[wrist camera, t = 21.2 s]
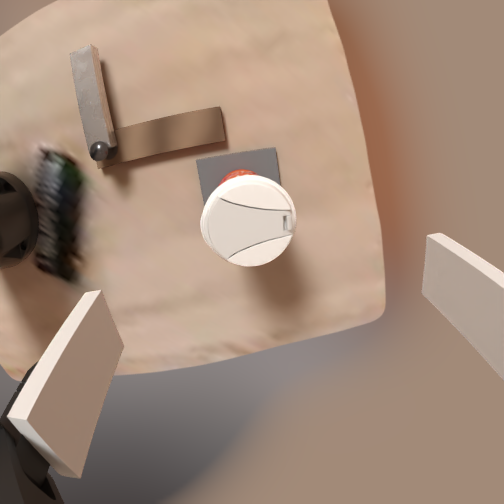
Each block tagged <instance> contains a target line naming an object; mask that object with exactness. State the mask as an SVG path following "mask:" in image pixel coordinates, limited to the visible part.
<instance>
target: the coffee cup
mask: <svg viewBox="0 0 504 504" xmlns="http://www.w3.org/2000/svg"><path fill="white" fill-rule="evenodd" d="M200 225H201V231H202V235H203V238H204V240H205V242H206V243H207V244H208V245H209V246H210V247H211V248H212V250H213V251H214V252H215V253H216V254H217V255H219V256H220V257H221V258H223V259H224V260H226V261H228V262H231V263H233V264H236V265H240V266H247V267H248V266H259V265H263V264H266V263H268V262H270V261H272V260H274V259H275V258H276V257H278V256H279V255H280V254H281V253H282V252H283V251H284V250H285V249H286V247H287V246H288V245H289V243H290V241H291V240H292V238H293V235H294V232H295V228H296V211H295V207H294V204H293V202H292V200H291V198H290V196H289V195H288V193H287V192H286V191H285V190H284V189H283V188H282V187H281V186H280V185H279V184H277V183H276V182H274V181H272V180H270V179H268V178H265V177H262V176H259V175H258V174H256V173H254V172H252V171H250V170H245V169H239V170H234V171H232V172H230V173H228V174H227V175H226V176H225V177H224V178H223V179H222V181H221V182H220V184H219V186H218V187H217V188H216V189H215V190H214V192H213V193H212V194H211V195H210V197H209V198H208V200H207V202H206V204H205V207H204V210H203V214H202V217H201V219H200Z"/></svg>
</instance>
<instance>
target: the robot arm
mask: <svg viewBox="0 0 504 504" xmlns="http://www.w3.org/2000/svg"><path fill="white" fill-rule="evenodd" d="M37 236H38V215H37V210H36V206H35V203H34V200H33V198H32V196H31V194H30V192H29V190H28V189H27V187H26V186H25V185H24V183H23V182H22V181H21V180H20V179H19V178H17V177H16V176H14V175H13V174H10V173H7V172H0V269H2V268H7V267H12V266H15V265H17V264H19V263H20V262H21V261H22V260H24V259H25V258H26V257H27V256H28V255H29V254H30V253H31V252H32V250H33V248H34V246H35V244H36V241H37ZM422 294H423V295H424V296H425V297H426V298H427V299H428V300H429V301H430V302H431V303H432V304H433V305H434V306H435V307H436V308H437V309H438V310H439V311H440V312H441V313H442V314H443V315H444V316H445V317H446V318H447V319H448V320H449V321H450V322H451V323H452V324H453V325H454V326H455V328H456V329H457V330H458V331H459V332H460V333H461V334H462V335H463V336H464V337H465V338H466V339H467V340H468V341H469V342H470V343H471V345H472V346H473V347H474V348H475V349H476V350H477V351H478V352H479V353H480V354H481V355H482V357H483V358H484V359H485V360H486V361H487V362H488V363H489V364H490V365H491V367H492V368H493V369H494V370H495V371H496V372H497V374H498V375H499V376H500V377H501V378H502V379H503V380H504V273H503V272H502V271H500V270H499V269H497V268H496V267H494V266H493V265H491V264H490V263H488V262H487V261H485V260H484V259H482V258H480V257H479V256H478V255H476V254H474V253H473V252H471V251H470V250H468V249H467V248H465V247H463V246H462V245H460V244H459V243H457V242H455V241H454V240H452V239H450V238H449V237H447V236H445V235H444V234H442V233H436V234H431V235H427V241H426V255H425V266H424V276H423V286H422ZM123 348H124V344H123V342H122V340H121V338H120V335H119V333H118V330H117V328H116V326H115V323H114V321H113V318H112V316H111V313H110V311H109V308H108V306H107V303H106V301H105V298H104V295H103V293H102V290H98V291H91V292H85V294H84V295H83V296H82V298H81V299H80V301H79V302H78V303H77V305H76V306H75V308H74V309H73V310H72V312H71V313H70V315H69V316H68V318H67V319H66V321H65V322H64V323H63V325H62V326H61V328H60V329H59V331H58V332H57V334H56V335H55V337H54V338H53V340H52V341H51V343H50V344H49V346H48V348H47V349H46V351H45V352H44V354H43V355H42V357H41V359H40V360H39V361H38V362H37V363H36V364H35V365H33V366H32V367H31V368H30V369H29V370H28V371H27V373H26V375H25V376H24V378H23V380H22V383H20V385H19V386H18V388H17V392H15V393H14V395H13V397H12V399H11V400H10V402H9V404H8V405H7V407H6V409H5V411H4V413H3V415H2V416H1V418H0V504H64V502H63V500H62V498H61V495H60V493H59V491H58V489H57V487H56V485H55V482H54V480H53V479H52V477H51V475H50V474H49V473H48V469H49V466H50V465H51V466H52V467H53V468H54V469H55V470H56V471H57V472H58V473H59V474H60V475H63V476H69V477H74V478H81V475H82V471H83V467H84V464H85V460H86V457H87V453H88V450H89V446H90V443H91V440H92V437H93V434H94V430H95V427H96V424H97V421H98V418H99V415H100V412H101V409H102V406H103V403H104V400H105V397H106V394H107V391H108V388H109V386H110V383H111V380H112V377H113V375H114V372H115V369H116V366H117V364H118V361H119V358H120V356H121V353H122V350H123Z"/></svg>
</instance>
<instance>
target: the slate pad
mask: <svg viewBox="0 0 504 504" xmlns="http://www.w3.org/2000/svg"><path fill="white" fill-rule="evenodd" d="M196 163H197V168H198V174H199V179H200V185H201V190H202V195H203V201H204V206H205V204H206V202H207V200H208V198H209V197H210V195H211V194H212V193H213V192H214V190H215V189H216V188H217V187H218V186H219V184H220V182H221V181H222V179H223V178H224V177H225V176H226V175H227V174H228V173H230V172H232V171H234V170H239V169H245V170H250V171H252V172H254V173H256V174H258V175H259V176H262V177H265V178H268V179H270V180H272V181H274V182H276V183H277V184H279V185H280V179H279V172H278V164H277V157H276V149H275V147H272V148H265V149H258V150H251V151H244V152H238V153H232V154H225V155H220V156H214V157H208V158H203V159H197V160H196Z"/></svg>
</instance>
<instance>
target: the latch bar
mask: <svg viewBox="0 0 504 504" xmlns="http://www.w3.org/2000/svg"><path fill="white" fill-rule="evenodd" d="M70 59H71V66H72V72H73V78H74V84H75V90H76V95H77V100H78V105H79V110H80V115H81V120H82V124H83V129H84V133H85V137H86V141H87V146H88V150H89V154H90V156H91V158H92V159H93V160H95V161H101V160H104V159H105V158H106V157H107V156H108V154H109V148H112V147H115V146H118V145H117V141H116V137H115V133H114V129H113V125H112V120H111V116H110V111H109V107H108V102H107V97H106V92H105V87H104V82H103V77H102V71H101V66H100V60H99V54H98V48H96V47H94V46H92V45H88V46H86V47H83V48H81V49H79V50H77V51H75V52H73V53H70Z"/></svg>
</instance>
